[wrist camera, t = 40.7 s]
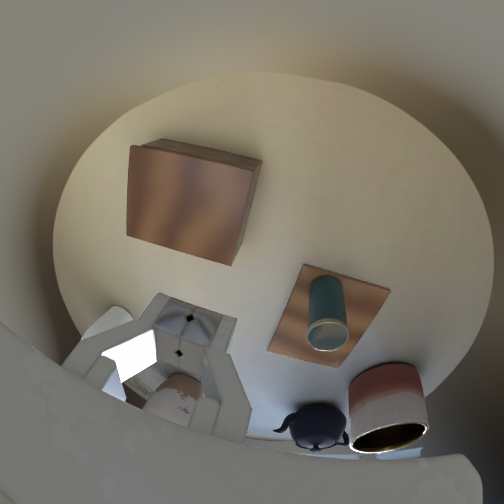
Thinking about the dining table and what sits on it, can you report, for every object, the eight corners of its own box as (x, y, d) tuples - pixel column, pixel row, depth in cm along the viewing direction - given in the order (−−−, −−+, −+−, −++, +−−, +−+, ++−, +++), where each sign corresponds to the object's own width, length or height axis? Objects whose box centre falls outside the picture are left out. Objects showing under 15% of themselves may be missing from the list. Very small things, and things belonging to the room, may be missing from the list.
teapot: (367, 412, 63) (368, 449, 53) (331, 430, 71) (329, 464, 61) (295, 386, 61) (290, 430, 50) (263, 408, 69) (255, 445, 58)
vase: (222, 383, 65) (196, 461, 46) (207, 404, 73) (184, 469, 54) (164, 357, 65) (127, 431, 45) (158, 383, 73) (128, 445, 53)
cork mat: (303, 263, 44) (303, 265, 43) (390, 289, 43) (390, 291, 43) (267, 349, 55) (267, 351, 55) (338, 366, 55) (338, 368, 54)
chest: (153, 217, 45) (135, 232, 40) (161, 138, 38) (141, 144, 33) (241, 243, 44) (232, 263, 39) (262, 160, 37) (254, 170, 32)
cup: (143, 333, 61) (120, 369, 51) (114, 326, 63) (90, 360, 53) (131, 304, 57) (103, 341, 47) (102, 299, 59) (74, 332, 48)
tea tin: (315, 270, 43) (315, 317, 34) (349, 279, 43) (356, 327, 34) (303, 297, 46) (300, 345, 37) (335, 306, 46) (338, 354, 37)
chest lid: (128, 233, 39) (126, 235, 39) (133, 144, 32) (130, 145, 32) (232, 263, 39) (231, 266, 38) (254, 170, 32) (253, 171, 31)
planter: (395, 402, 59) (400, 452, 46) (336, 397, 61) (335, 452, 47) (432, 363, 50) (446, 420, 37) (368, 355, 52) (374, 420, 38)
